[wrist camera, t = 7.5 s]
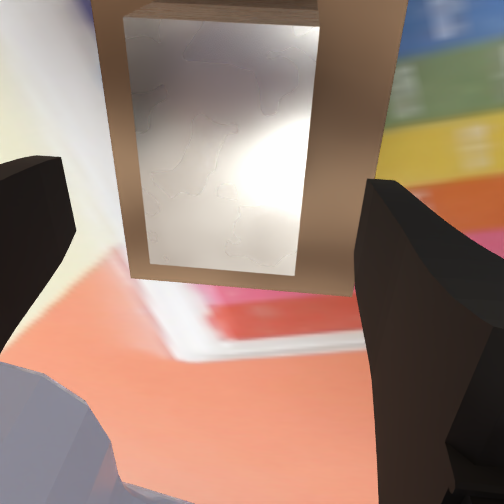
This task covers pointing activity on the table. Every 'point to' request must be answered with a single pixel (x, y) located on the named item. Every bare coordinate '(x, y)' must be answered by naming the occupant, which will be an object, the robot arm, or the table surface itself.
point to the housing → (223, 128)
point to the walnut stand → (318, 151)
